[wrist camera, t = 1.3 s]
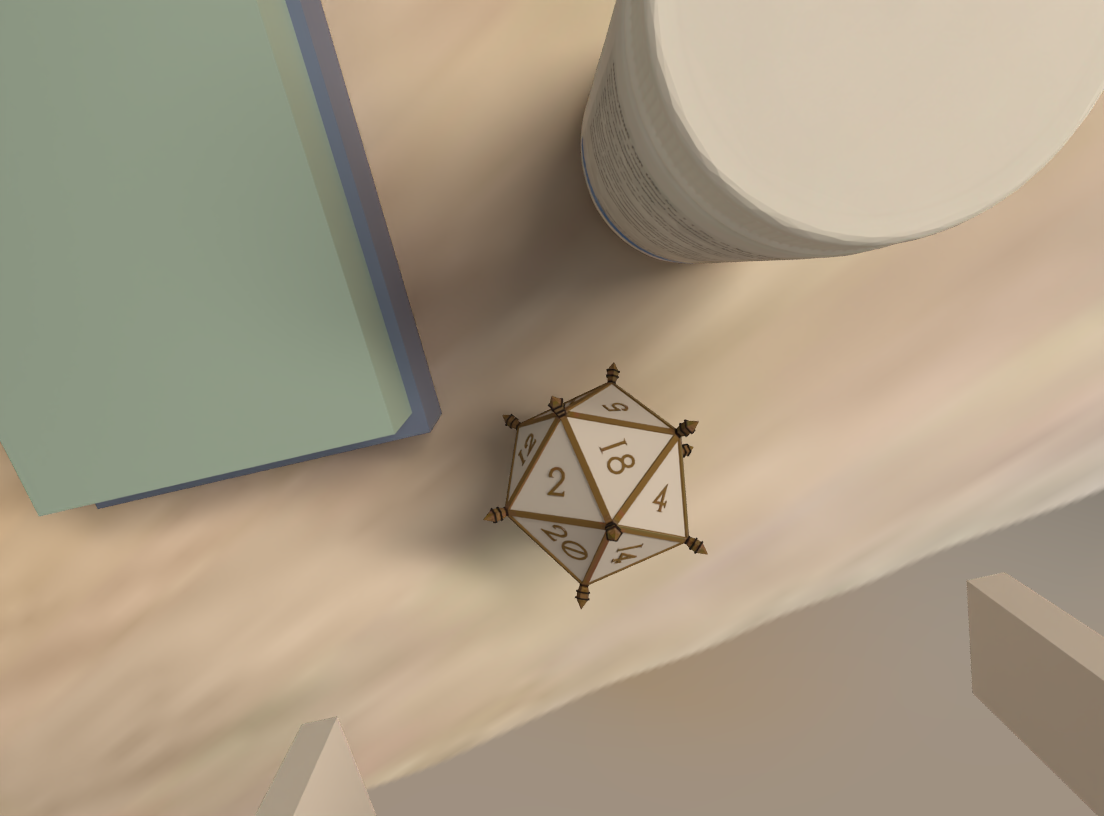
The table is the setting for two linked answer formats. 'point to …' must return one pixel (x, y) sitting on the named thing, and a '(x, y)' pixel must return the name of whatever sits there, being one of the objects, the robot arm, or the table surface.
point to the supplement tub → (827, 119)
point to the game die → (599, 483)
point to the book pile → (189, 251)
